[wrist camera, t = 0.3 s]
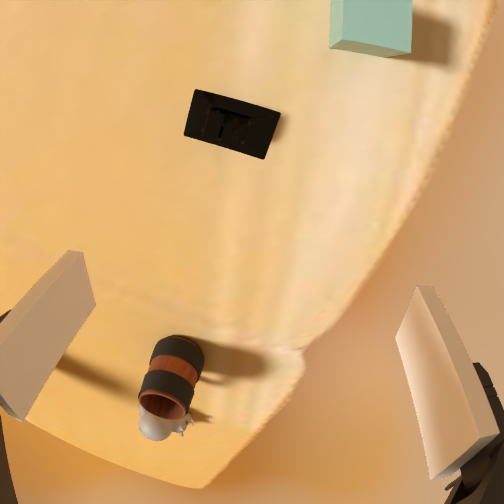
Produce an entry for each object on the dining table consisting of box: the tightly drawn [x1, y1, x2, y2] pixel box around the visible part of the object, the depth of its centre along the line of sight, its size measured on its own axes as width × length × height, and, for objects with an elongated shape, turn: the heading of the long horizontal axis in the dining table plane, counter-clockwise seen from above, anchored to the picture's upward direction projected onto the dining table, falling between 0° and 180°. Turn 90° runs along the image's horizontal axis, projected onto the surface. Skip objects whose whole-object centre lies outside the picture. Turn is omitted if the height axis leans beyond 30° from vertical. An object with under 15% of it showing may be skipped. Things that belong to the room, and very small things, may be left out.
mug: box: [138, 336, 204, 420], centre depth 48 cm, size 9×12×12 cm
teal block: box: [329, 0, 412, 57], centre depth 22 cm, size 6×6×8 cm
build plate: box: [184, 89, 281, 159], centre depth 31 cm, size 12×7×5 cm, turn 73°
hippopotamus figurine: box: [138, 403, 194, 441], centre depth 60 cm, size 7×12×8 cm, turn 75°
